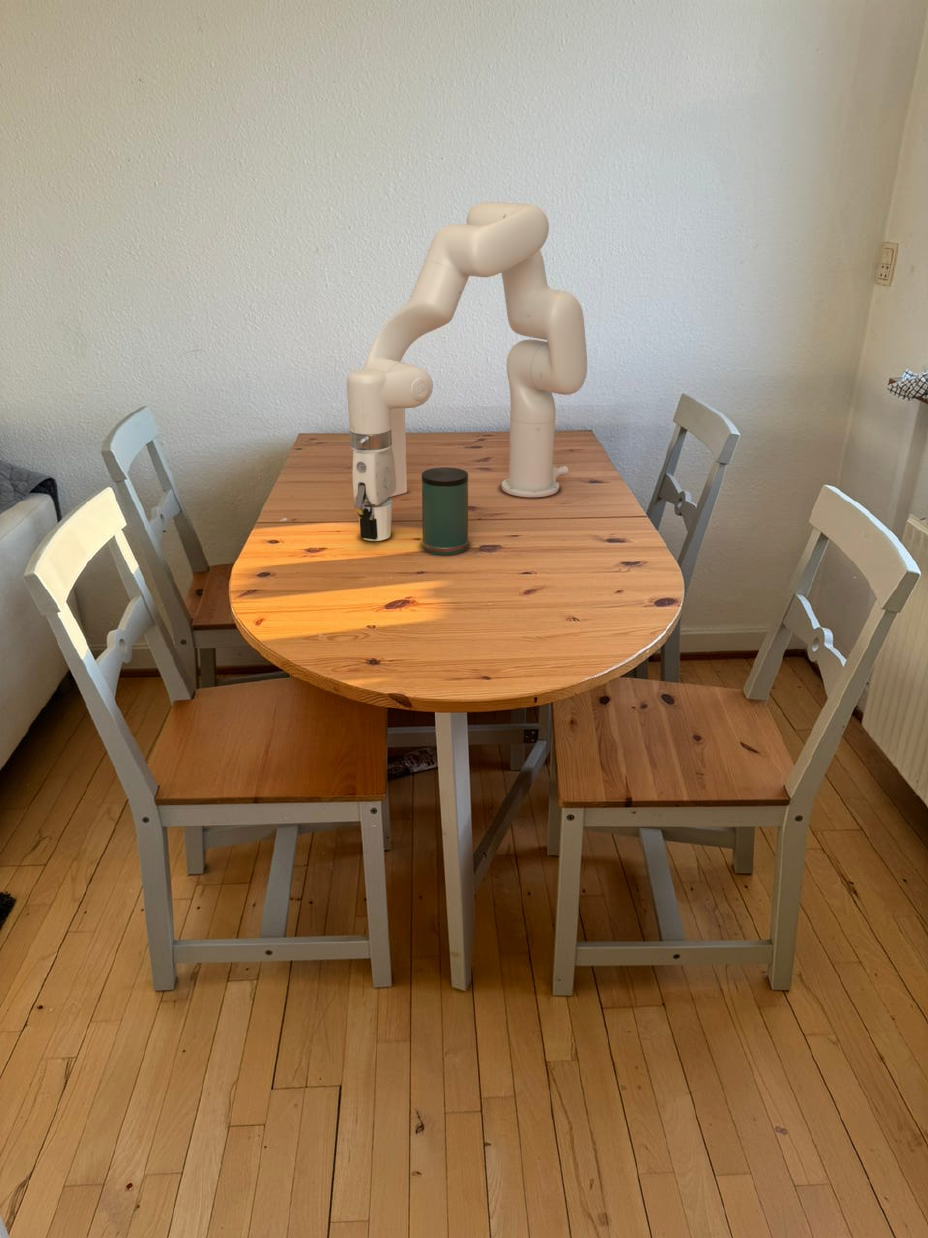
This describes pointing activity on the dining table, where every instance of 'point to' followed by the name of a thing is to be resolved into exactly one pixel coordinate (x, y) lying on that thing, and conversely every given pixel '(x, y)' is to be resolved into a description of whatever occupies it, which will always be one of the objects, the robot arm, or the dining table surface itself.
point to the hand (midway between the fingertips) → (375, 531)
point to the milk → (399, 449)
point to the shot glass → (382, 519)
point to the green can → (445, 510)
